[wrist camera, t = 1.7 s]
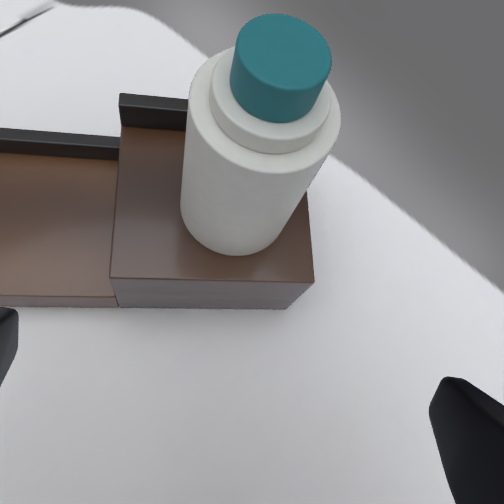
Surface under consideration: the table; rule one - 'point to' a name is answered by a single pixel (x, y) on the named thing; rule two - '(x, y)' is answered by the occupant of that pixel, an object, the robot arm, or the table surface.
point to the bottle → (256, 134)
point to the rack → (127, 224)
